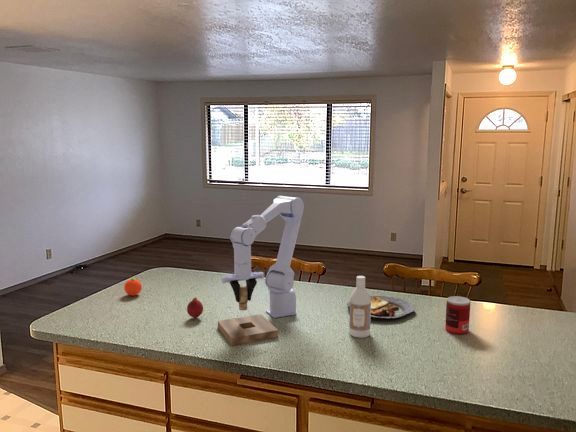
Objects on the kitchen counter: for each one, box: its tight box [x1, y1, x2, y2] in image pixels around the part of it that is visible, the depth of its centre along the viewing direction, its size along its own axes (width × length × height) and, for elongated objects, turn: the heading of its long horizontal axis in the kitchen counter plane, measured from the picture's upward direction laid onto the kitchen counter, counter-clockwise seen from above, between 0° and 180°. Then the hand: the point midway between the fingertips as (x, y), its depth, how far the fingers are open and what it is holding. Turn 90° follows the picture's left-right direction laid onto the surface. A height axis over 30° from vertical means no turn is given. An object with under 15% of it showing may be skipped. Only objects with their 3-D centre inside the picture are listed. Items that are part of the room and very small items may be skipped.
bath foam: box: [348, 275, 372, 339], centre depth 167 cm, size 7×7×20 cm
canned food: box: [444, 295, 471, 336], centre depth 171 cm, size 8×8×11 cm
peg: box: [238, 284, 249, 311], centre depth 173 cm, size 3×3×8 cm
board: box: [217, 313, 279, 347], centre depth 171 cm, size 16×16×2 cm
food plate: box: [347, 294, 416, 320], centre depth 191 cm, size 25×23×4 cm
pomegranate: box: [186, 296, 204, 319], centre depth 183 cm, size 6×6×8 cm
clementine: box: [124, 278, 143, 296], centre depth 210 cm, size 8×7×7 cm
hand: (243, 300), depth 173 cm, fingers closed on peg, 3 cm apart
